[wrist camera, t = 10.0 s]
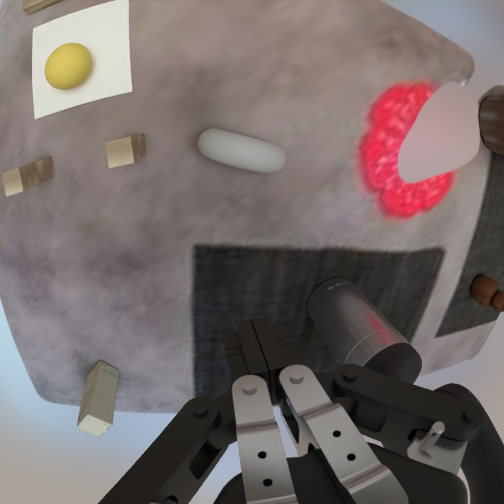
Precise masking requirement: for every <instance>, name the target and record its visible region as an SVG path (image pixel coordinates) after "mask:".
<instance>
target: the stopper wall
mask: <svg viewBox="0 0 504 504" xmlns="http://www.w3.org/2000/svg"><path fill="white" fill-rule="evenodd" d="M61 1H64V0H24V1H23V8H22V10H23V11H25V12H26V13H28V14H32V13H34V12H37V11H39V10H41V9H43V8H46V7H48V6H51V5H53V4H56V3H58V2H61Z"/></svg>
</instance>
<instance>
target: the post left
mask: <svg viewBox="0 0 504 504" xmlns="http://www.w3.org/2000/svg"><path fill="white" fill-rule="evenodd" d="M53 176H55V175H54V169H53V163H52V157H49V158H46V159H43V160H39V161H36V162H33V163H30V164H27V165H25V166H22V167H19V168H16V169H13V170H11V171H8V172H5V173H3V174H2V177H3V182H4V187H5V192H6V197H7V196H10V195H13V194H16V193H19V192H22V191H24V190H26V189H28V188H30V187H32V186H34V185H36V184H38V183H40V182H42V181H44V180H46V179H48V178H51V177H53Z"/></svg>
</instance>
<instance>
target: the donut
mask: <svg viewBox="0 0 504 504" xmlns="http://www.w3.org/2000/svg"><path fill="white" fill-rule="evenodd" d="M198 148H199V150H200V152H201V153H202V154H203V155H204V156H205V157H207V158H209V159H211V160H214V161H217V162H220V163H223V164H226V165H230V166H233V167H237V168H241V169H245V170H249V171H254V172H260V173H266V174H273V173H277V172H279V171H281V170H282V169H283V168H284V167H285V165H286V163H287V154H286V152H285V150H284V149H283V148H282V147H281V146H279V145H277V144H274V143H271V142H267V141H264V140H260V139H256V138H253V137H249V136H245V135H241V134H237V133H233V132H229V131H225V130H221V129H216V128H211V129H207V130H206V131H204V132H203V133H202V134H201V135H200V137H199V139H198Z"/></svg>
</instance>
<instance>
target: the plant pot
mask: <svg viewBox="0 0 504 504" xmlns="http://www.w3.org/2000/svg"><path fill="white" fill-rule="evenodd" d="M479 126H480V133H481V135H482V136H483V138H484V144H485V145H486V147H487V148H488V149H489V150H491V151H494V152H496V153H499V154H502V155H504V96H487V97H486V99H485V100H484V101H483V102H482V104H481V107H480V113H479Z"/></svg>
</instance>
